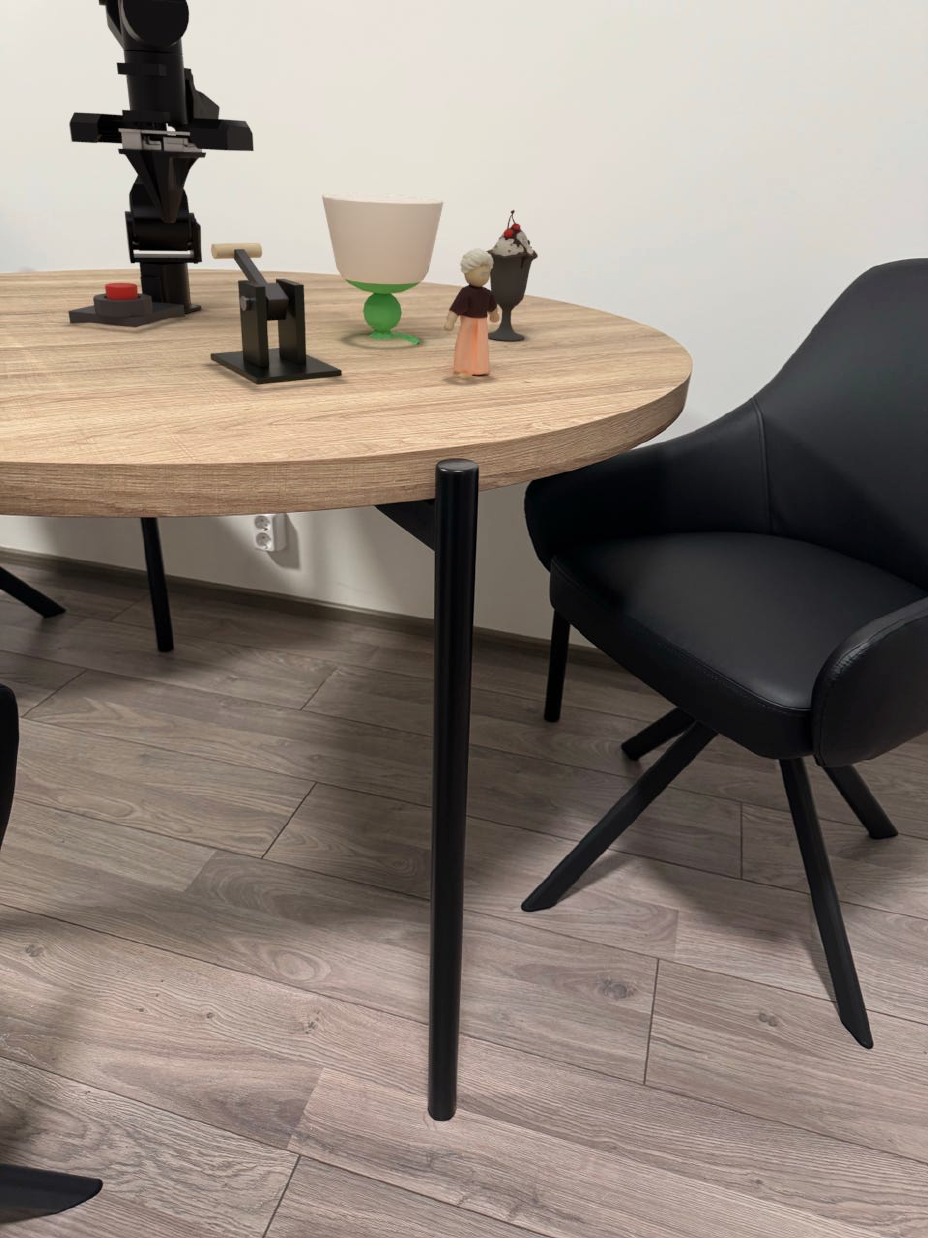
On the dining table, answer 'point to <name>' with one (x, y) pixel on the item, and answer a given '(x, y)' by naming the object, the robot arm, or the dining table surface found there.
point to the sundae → (510, 276)
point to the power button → (121, 291)
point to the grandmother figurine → (473, 315)
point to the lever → (254, 275)
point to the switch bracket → (256, 355)
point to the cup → (382, 249)
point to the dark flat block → (125, 311)
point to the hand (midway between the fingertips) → (169, 222)
